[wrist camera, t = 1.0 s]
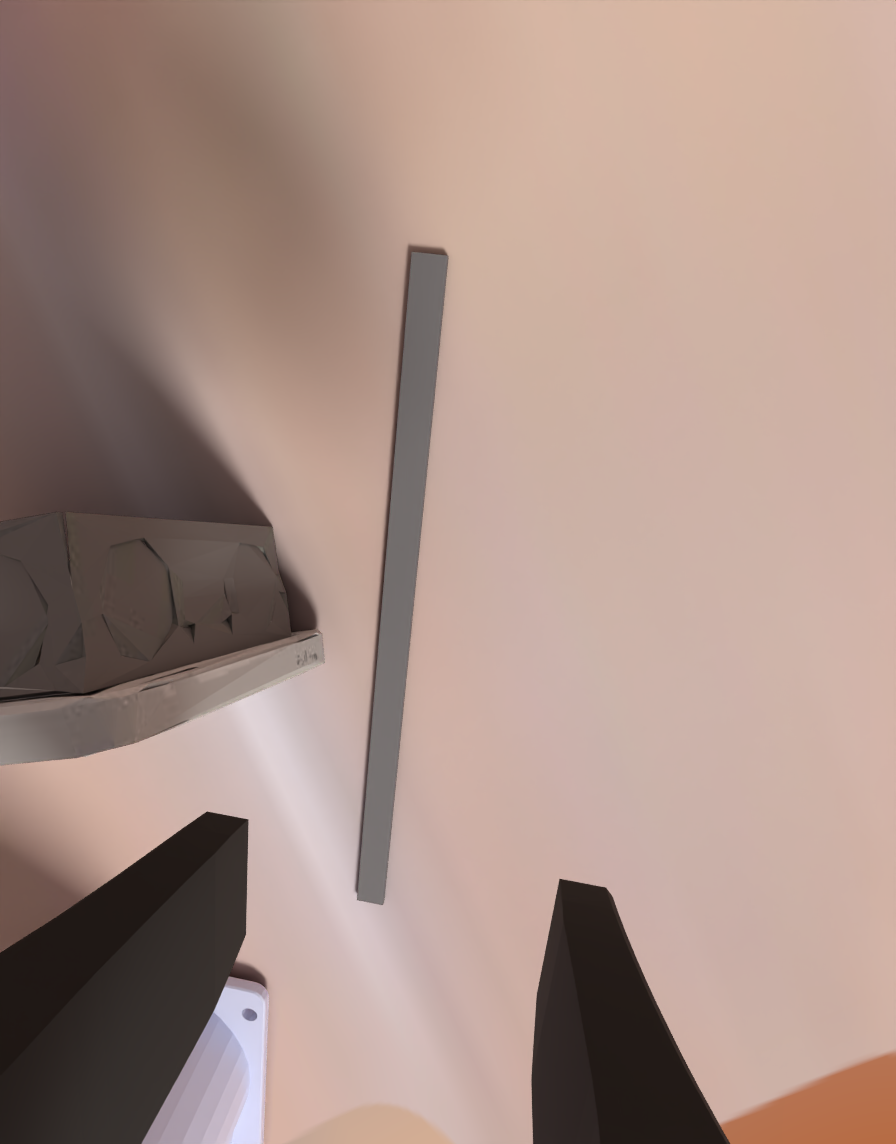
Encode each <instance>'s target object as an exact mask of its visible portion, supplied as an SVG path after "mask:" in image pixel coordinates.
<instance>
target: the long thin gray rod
mask: <svg viewBox="0 0 896 1144" xmlns="http://www.w3.org/2000/svg"><path fill="white" fill-rule="evenodd" d="M447 266H448V256H447V255H438V254H429V253H419V252H412V254H411V266H410V278H409V290H408V302H407V314H406V325H405V337H404V349H403V361H402V373H401V385H400V397H399V408H398V420H397V432H396V444H395V456H394V468H393V479H392V491H391V503H390V515H389V527H388V539H387V551H386V562H385V574H384V586H383V598H382V610H381V622H380V634H379V645H378V657H377V669H376V681H375V693H374V705H373V717H372V728H371V740H370V752H369V764H368V776H367V788H366V799H365V811H364V823H363V835H362V847H361V859H360V871H359V882H358V894H357V900H359V901H364V902H369V903H374V904H379V905H383V903H384V898H385V888H386V878H387V868H388V858H389V848H390V838H391V828H392V818H393V807H394V797H395V787H396V777H397V767H398V757H399V747H400V737H401V727H402V717H403V707H404V697H405V687H406V677H407V667H408V657H409V647H410V637H411V627H412V617H413V607H414V597H415V587H416V577H417V567H418V557H419V547H420V537H421V527H422V517H423V507H424V497H425V487H426V477H427V467H428V456H429V446H430V436H431V426H432V416H433V406H434V396H435V386H436V376H437V366H438V356H439V346H440V336H441V326H442V316H443V306H444V296H445V286H446V276H447Z"/></svg>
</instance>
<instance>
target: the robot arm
mask: <svg viewBox="0 0 896 1144" xmlns="http://www.w3.org/2000/svg"><path fill="white" fill-rule="evenodd" d="M247 859H248V819H243V818H238V817H233V816H227V815H222V814H217V813H212V812H206V813H204V814H203V815H201V816H200V817H199V818H197V819H196V820H194V821H193V822H191V823H190V824H188V825H187V826H185V827H184V828H183V829H181V830H180V831H178V832H177V833H176V834H174V835H173V836H171V837H170V838H169V839H167V840H166V841H165V842H163V843H162V844H160V845H159V846H158V847H156V848H155V849H153V850H152V851H151V852H149V853H148V854H146V855H145V856H144V857H142V858H141V859H139V860H138V861H137V862H135V863H134V864H132V865H131V866H130V867H128V868H127V869H125V870H124V871H123V872H121V873H120V874H118V875H117V876H116V877H114V878H113V879H111V880H110V881H108V882H107V883H105V884H104V885H103V886H101V887H100V888H98V889H97V890H95V891H94V892H92V893H91V894H90V895H88V896H87V897H85V898H84V899H82V900H81V901H79V902H78V903H76V904H75V905H74V906H72V907H71V908H69V909H68V910H66V911H65V912H63V913H62V914H60V915H59V916H57V917H56V918H54V919H53V920H51V921H50V922H48V923H46V924H45V925H43V926H42V927H40V928H39V929H37V930H35V931H34V932H32V933H31V934H29V935H28V936H26V937H24V938H23V939H21V940H20V941H18V942H17V943H15V944H13V945H12V946H10V947H9V948H7V949H6V950H4V951H2V952H1V953H0V1144H264V1116H265V1089H266V1062H267V1035H268V1008H269V995H268V992H267V990H266V989H265V987H264V986H262V985H261V984H259V983H256V982H253V981H248V980H244V979H239V978H234V977H230V976H229V975H230V973H231V970H232V968H233V965H234V963H235V960H236V958H237V955H238V953H239V950H240V948H241V945H242V943H243V940H244V938H245V935H246V904H247ZM532 1118H533V1144H730V1143H729V1141H728V1139H727V1137H726V1136H725V1134H724V1132H723V1130H722V1129H721V1127H720V1125H719V1123H718V1121H717V1119H716V1118H715V1116H714V1114H713V1112H712V1110H711V1109H710V1107H709V1105H708V1103H707V1101H706V1100H705V1098H704V1096H703V1094H702V1092H701V1090H700V1089H699V1087H698V1085H697V1083H696V1081H695V1079H694V1077H693V1075H692V1074H691V1072H690V1070H689V1068H688V1066H687V1064H686V1062H685V1060H684V1058H683V1056H682V1054H681V1052H680V1050H679V1048H678V1046H677V1044H676V1042H675V1040H674V1038H673V1036H672V1034H671V1032H670V1030H669V1028H668V1026H667V1024H666V1022H665V1020H664V1018H663V1016H662V1014H661V1011H660V1009H659V1007H658V1005H657V1003H656V1001H655V999H654V997H653V995H652V992H651V990H650V988H649V986H648V984H647V982H646V979H645V977H644V975H643V972H642V970H641V968H640V965H639V963H638V961H637V959H636V956H635V954H634V952H633V949H632V947H631V944H630V942H629V939H628V937H627V935H626V932H625V929H624V927H623V924H622V922H621V919H620V916H619V914H618V911H617V908H616V905H615V902H614V900H613V897H612V895H611V894H610V893H609V891H608V890H607V889H606V888H605V887H599V886H594V885H589V884H584V883H579V882H573V881H568V880H563V879H560V880H559V885H558V890H557V895H556V900H555V905H554V910H553V915H552V921H551V926H550V931H549V936H548V941H547V946H546V951H545V956H544V961H543V966H542V972H541V977H540V982H539V987H538V992H537V1001H536V1016H535V1031H534V1046H533V1063H532Z"/></svg>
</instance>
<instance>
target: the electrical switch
mask: <svg viewBox="0 0 896 1144" xmlns="http://www.w3.org/2000/svg"><path fill="white" fill-rule="evenodd" d="M66 522H67V533H68V544H69V555H70V561H69V559H68V552H67V544H66V537H65V530H64V522H63V515H62V512H54V513H48V514H42V515H37V516H31V517H25V518H19V519H14V520H8V521H2V522H0V765H9V764H20V763H30V762H40V761H50V760H61V759H71V758H79V757H86V756H90V755H93V754H96V753H99V752H102V751H106V750H110V749H114V748H118V747H122V746H126V745H130V744H134V743H137V742H139V741H142V740H144V739H147V738H149V737H152V736H154V735H157V734H160V733H162V732H165V731H167V730H170V729H172V728H175V727H177V726H180V725H182V724H185V723H188V722H190V721H192V720H195V719H197V718H199V717H202V716H204V715H206V714H209V713H211V712H213V711H216V710H218V709H220V708H223V707H225V706H227V705H230V704H232V703H234V702H237V701H239V700H241V699H244V698H246V697H248V696H251V695H253V694H255V693H258V692H260V691H262V690H265V689H267V688H269V687H272V686H274V685H276V684H279V683H281V682H283V681H286V680H288V679H290V678H293V677H295V676H297V675H300V674H302V673H304V672H306V671H308V670H311V669H313V668H315V667H317V666H319V665H321V664H323V663H325V659H324V648H323V637H322V633H321V632H320V631H319V630H318V629H315V630H307V631H299V632H291V628H290V619H289V611H288V602H287V594H286V591H285V588H284V585H283V582H282V580H281V577H280V574H279V569H278V562H277V555H276V548H275V541H274V534H273V527H268V526H254V525H240V524H226V523H212V522H198V521H185V520H171V519H157V518H143V517H129V516H115V515H102V514H88V513H74V512H66ZM143 542H145V544H146V545H145V544H144V543H143Z"/></svg>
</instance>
